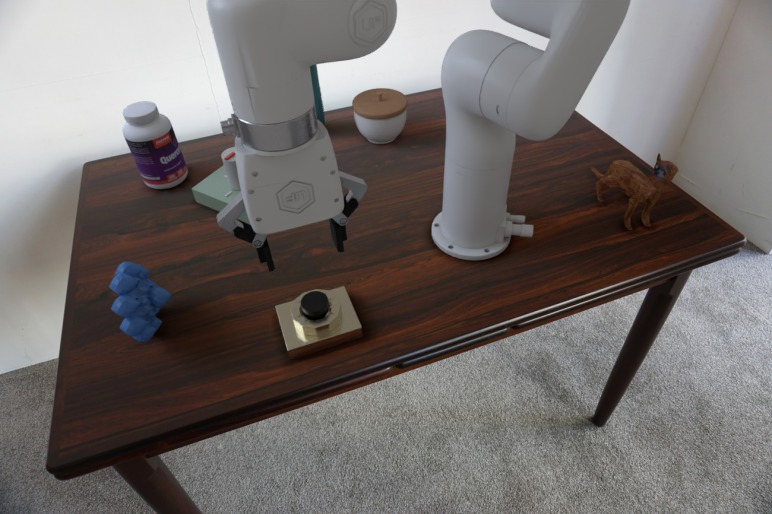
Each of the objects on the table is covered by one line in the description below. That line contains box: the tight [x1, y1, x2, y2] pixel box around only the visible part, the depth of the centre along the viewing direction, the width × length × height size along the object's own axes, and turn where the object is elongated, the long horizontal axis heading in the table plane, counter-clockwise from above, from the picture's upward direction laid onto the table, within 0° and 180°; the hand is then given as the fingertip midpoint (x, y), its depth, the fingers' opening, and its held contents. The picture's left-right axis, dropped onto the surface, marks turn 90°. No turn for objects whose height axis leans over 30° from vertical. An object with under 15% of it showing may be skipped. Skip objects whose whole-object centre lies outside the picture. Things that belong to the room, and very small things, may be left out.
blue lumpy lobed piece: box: [108, 260, 172, 344], centre depth 68 cm, size 12×7×12 cm, turn 14°
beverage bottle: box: [310, 64, 326, 126], centre depth 101 cm, size 6×7×20 cm
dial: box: [220, 146, 241, 190], centre depth 89 cm, size 4×4×6 cm
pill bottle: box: [121, 100, 189, 190], centre depth 93 cm, size 8×8×14 cm
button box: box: [274, 285, 364, 361], centre depth 70 cm, size 10×8×4 cm
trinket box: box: [351, 87, 409, 145], centre depth 103 cm, size 11×11×9 cm
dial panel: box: [191, 164, 250, 224], centre depth 92 cm, size 14×11×3 cm
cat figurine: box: [590, 153, 679, 231], centre depth 83 cm, size 18×7×14 cm, turn 13°
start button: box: [301, 291, 330, 320], centre depth 69 cm, size 4×4×2 cm
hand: (304, 253), depth 62 cm, fingers open, 7 cm apart
